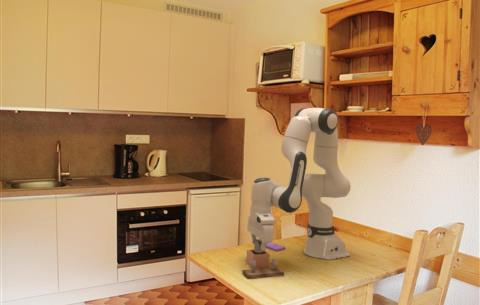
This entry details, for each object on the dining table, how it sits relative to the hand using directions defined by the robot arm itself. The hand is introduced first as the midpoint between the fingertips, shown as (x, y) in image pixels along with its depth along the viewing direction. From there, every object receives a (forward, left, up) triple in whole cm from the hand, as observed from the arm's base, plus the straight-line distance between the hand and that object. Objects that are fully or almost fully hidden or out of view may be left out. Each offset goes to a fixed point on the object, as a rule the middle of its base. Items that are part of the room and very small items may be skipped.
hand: (258, 246), depth 174 cm
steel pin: (0, 0, -7) cm, 7 cm away
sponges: (-18, -23, -9) cm, 30 cm away
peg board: (+2, +11, -8) cm, 14 cm away
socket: (0, 0, -8) cm, 8 cm away
